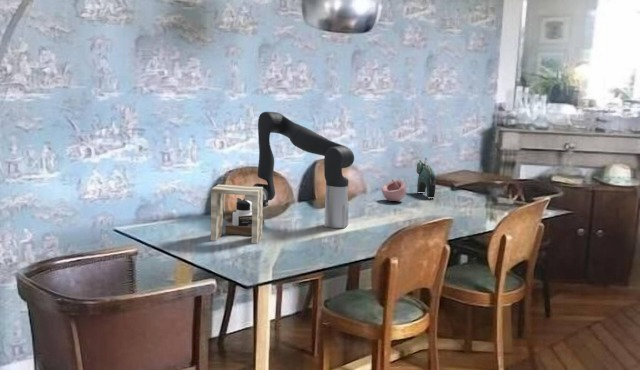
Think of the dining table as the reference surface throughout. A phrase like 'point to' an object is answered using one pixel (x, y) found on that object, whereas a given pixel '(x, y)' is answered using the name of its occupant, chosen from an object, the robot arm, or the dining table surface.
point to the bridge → (218, 208)
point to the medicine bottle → (243, 214)
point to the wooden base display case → (240, 229)
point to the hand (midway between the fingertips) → (247, 206)
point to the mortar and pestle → (394, 190)
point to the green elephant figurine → (426, 178)
